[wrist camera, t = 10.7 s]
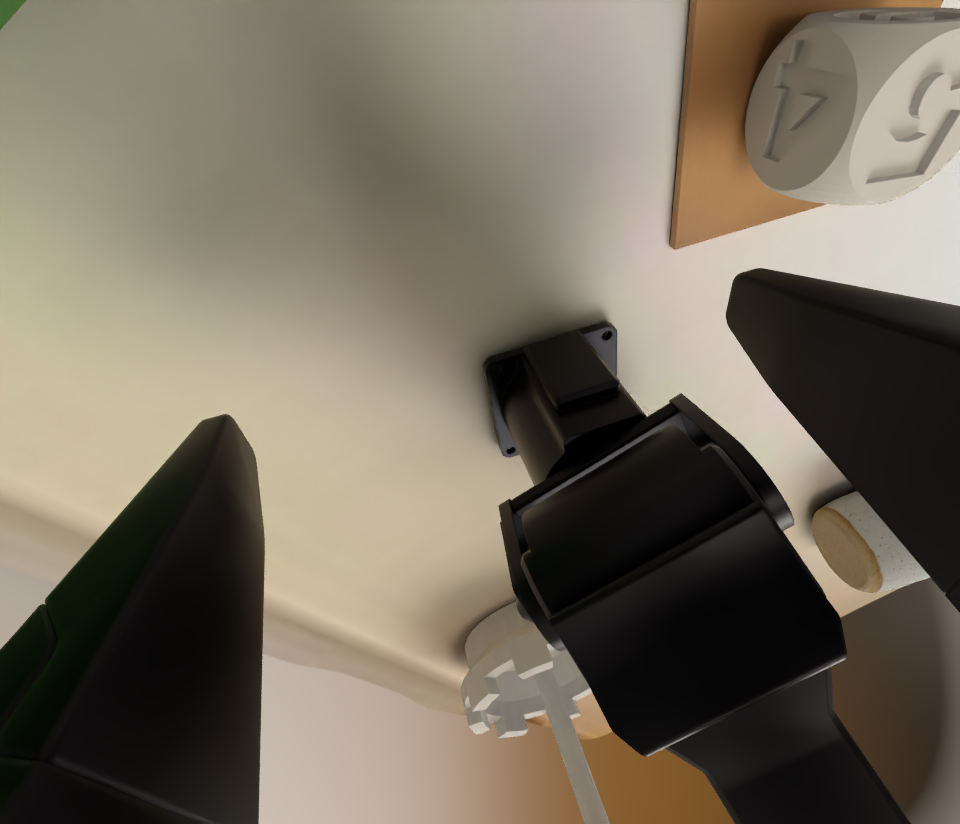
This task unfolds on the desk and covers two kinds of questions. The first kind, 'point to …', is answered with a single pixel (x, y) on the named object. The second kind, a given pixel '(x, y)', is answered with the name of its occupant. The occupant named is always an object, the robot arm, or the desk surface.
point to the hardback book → (8, 9)
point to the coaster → (733, 112)
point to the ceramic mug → (863, 546)
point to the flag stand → (528, 693)
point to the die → (858, 105)
